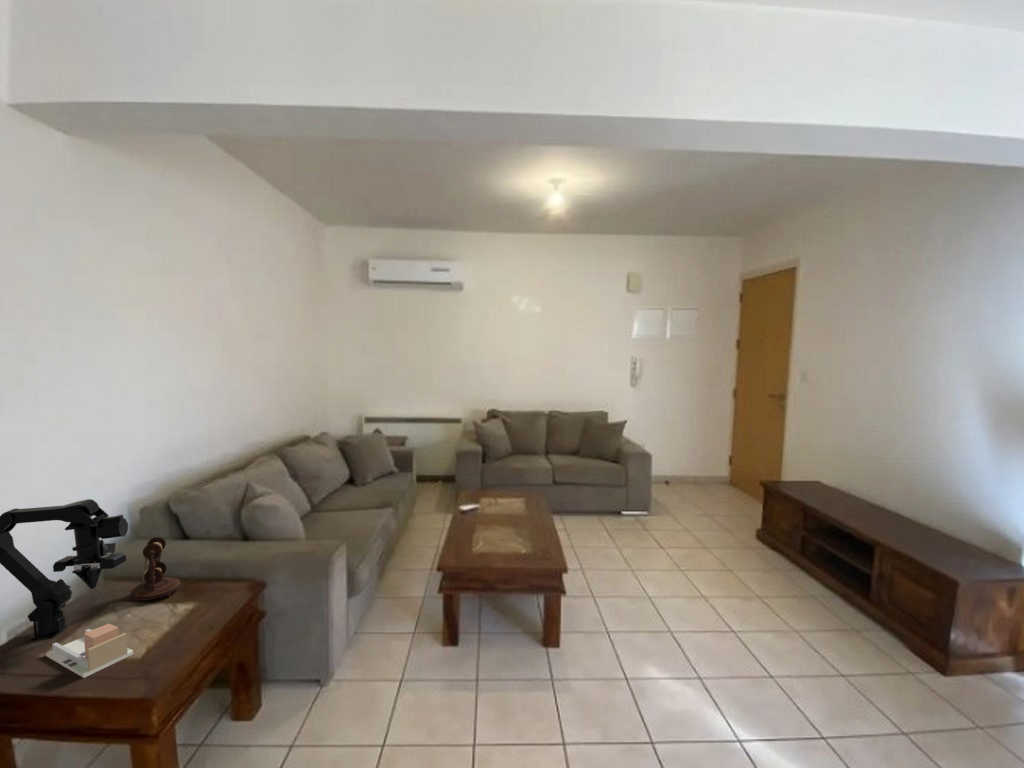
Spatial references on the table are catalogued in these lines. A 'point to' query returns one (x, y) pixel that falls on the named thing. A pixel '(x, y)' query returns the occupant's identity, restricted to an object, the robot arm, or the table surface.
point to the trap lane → (90, 654)
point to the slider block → (99, 636)
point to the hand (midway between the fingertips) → (93, 588)
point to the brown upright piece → (154, 574)
